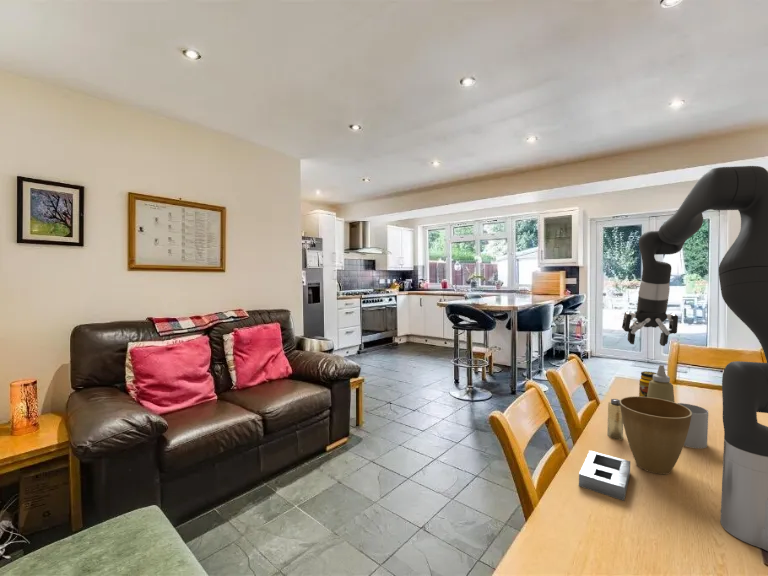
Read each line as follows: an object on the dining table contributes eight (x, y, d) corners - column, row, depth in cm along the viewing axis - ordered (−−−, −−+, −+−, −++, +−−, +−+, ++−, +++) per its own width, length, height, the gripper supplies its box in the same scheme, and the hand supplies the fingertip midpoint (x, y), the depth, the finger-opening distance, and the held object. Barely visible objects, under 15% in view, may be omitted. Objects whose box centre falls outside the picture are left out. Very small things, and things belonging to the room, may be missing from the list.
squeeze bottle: (646, 410, 132) (648, 361, 131) (675, 416, 127) (677, 364, 126) (644, 417, 125) (646, 365, 124) (674, 424, 120) (676, 369, 119)
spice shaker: (626, 438, 110) (627, 402, 110) (615, 440, 109) (616, 403, 109) (614, 432, 114) (615, 397, 114) (604, 434, 113) (605, 398, 113)
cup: (714, 449, 103) (715, 415, 103) (680, 447, 105) (681, 412, 104) (695, 436, 112) (696, 404, 111) (664, 434, 113) (665, 402, 113)
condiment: (640, 406, 136) (641, 374, 135) (633, 398, 144) (634, 368, 143) (664, 409, 133) (665, 376, 133) (656, 401, 141) (657, 370, 141)
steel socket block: (624, 500, 81) (624, 487, 81) (578, 486, 87) (579, 473, 86) (630, 472, 92) (630, 461, 92) (589, 461, 98) (589, 450, 97)
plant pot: (642, 448, 104) (644, 392, 104) (703, 475, 91) (706, 412, 90) (604, 458, 99) (606, 400, 98) (663, 489, 85) (666, 421, 84)
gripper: (631, 298, 112) (625, 347, 116) (686, 299, 108) (678, 350, 112) (623, 292, 119) (617, 338, 123) (674, 292, 115) (667, 340, 119)
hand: (646, 344), depth 118 cm, fingers open, 8 cm apart
